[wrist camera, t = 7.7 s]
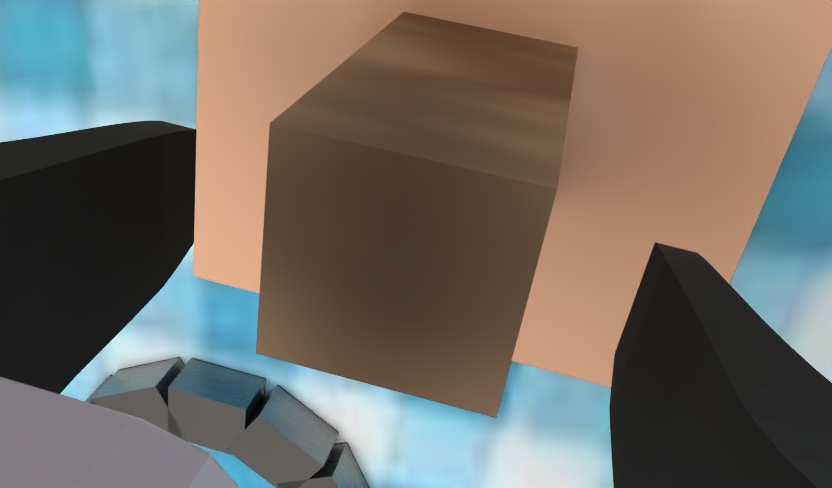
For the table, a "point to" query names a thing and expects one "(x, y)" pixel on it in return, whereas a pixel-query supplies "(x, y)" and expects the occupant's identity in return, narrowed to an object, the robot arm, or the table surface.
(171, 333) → the table surface
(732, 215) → the terracotta tile
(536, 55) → the link block
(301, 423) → the holder ring
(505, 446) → the table surface
